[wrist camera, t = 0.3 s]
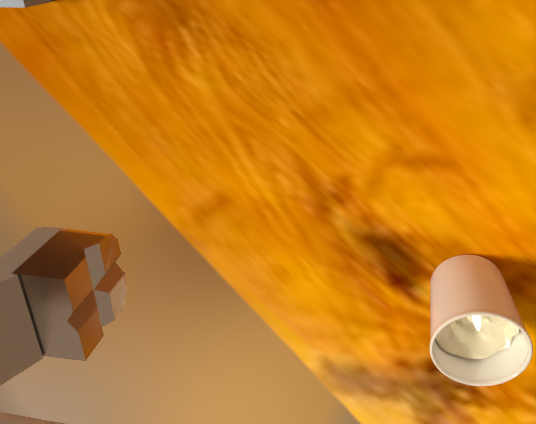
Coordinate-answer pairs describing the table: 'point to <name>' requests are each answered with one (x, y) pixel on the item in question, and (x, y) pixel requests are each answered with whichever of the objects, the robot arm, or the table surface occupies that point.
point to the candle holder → (475, 323)
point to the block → (22, 3)
